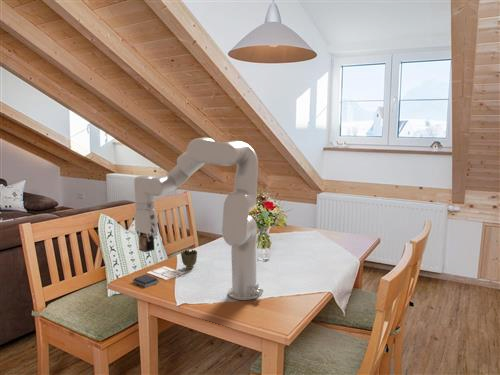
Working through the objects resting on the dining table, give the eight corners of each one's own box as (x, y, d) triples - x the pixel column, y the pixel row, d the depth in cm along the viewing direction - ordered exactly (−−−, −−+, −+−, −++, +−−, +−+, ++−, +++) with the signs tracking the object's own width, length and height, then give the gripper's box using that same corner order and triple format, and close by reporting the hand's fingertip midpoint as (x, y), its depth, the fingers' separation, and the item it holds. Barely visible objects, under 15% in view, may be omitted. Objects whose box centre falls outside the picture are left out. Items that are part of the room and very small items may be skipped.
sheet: (184, 273, 189) (184, 272, 189) (166, 280, 182) (166, 279, 182) (164, 266, 198) (164, 266, 198) (146, 272, 191) (146, 272, 191)
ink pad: (159, 282, 179) (158, 278, 179) (145, 287, 174) (145, 283, 174) (146, 277, 185) (146, 273, 185) (132, 282, 180) (132, 278, 180)
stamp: (154, 249, 177) (153, 233, 176) (145, 252, 174) (144, 236, 173) (148, 247, 180) (147, 231, 179) (139, 250, 177) (138, 234, 176)
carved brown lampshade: (199, 265, 199) (198, 249, 198) (195, 271, 192) (195, 254, 190) (183, 265, 200) (183, 249, 198) (179, 271, 192) (179, 254, 191)
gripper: (164, 207, 171) (166, 250, 174) (140, 201, 182) (142, 242, 185) (149, 210, 166) (151, 254, 169) (125, 204, 177) (127, 246, 180)
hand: (146, 248), depth 177 cm, fingers closed on stamp, 4 cm apart
